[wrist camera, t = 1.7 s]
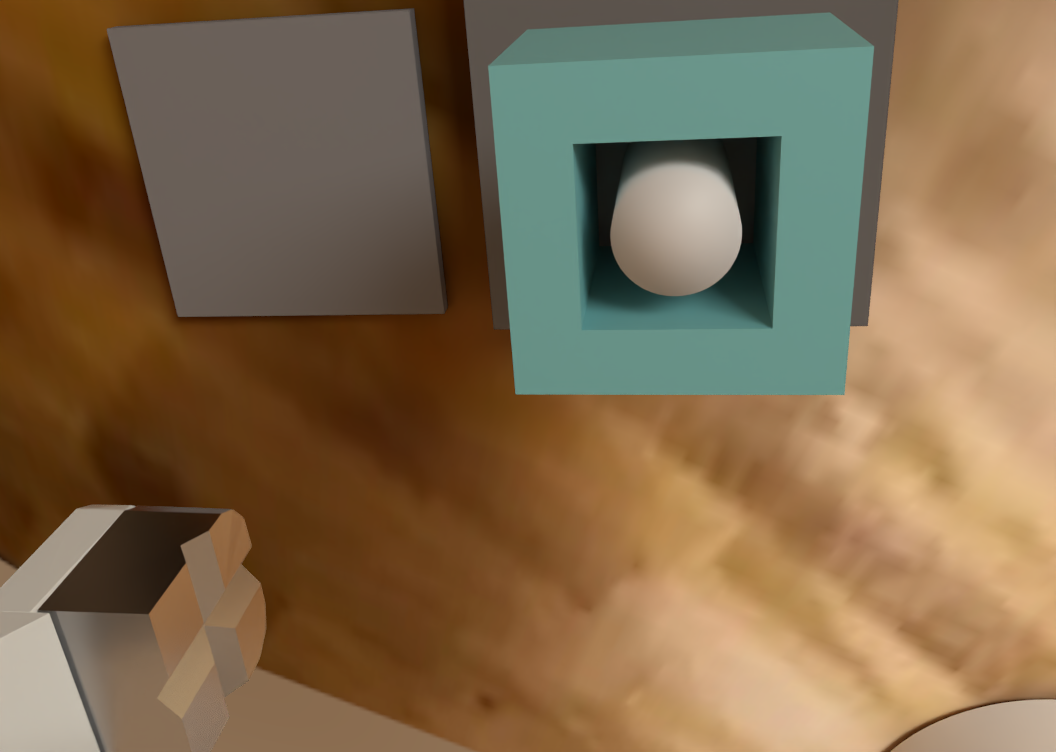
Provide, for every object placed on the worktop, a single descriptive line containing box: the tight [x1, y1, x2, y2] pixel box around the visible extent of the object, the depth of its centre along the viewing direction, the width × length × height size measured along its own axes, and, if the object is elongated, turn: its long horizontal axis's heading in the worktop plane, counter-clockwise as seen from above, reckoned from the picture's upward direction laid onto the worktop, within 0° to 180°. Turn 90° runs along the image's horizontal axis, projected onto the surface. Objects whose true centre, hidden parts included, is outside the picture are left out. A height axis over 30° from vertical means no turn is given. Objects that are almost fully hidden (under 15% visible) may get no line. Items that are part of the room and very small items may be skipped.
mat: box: [107, 8, 448, 317], centre depth 33 cm, size 10×10×1 cm
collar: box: [488, 12, 874, 395], centre depth 20 cm, size 6×6×5 cm
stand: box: [464, 0, 898, 329], centre depth 24 cm, size 14×12×14 cm
